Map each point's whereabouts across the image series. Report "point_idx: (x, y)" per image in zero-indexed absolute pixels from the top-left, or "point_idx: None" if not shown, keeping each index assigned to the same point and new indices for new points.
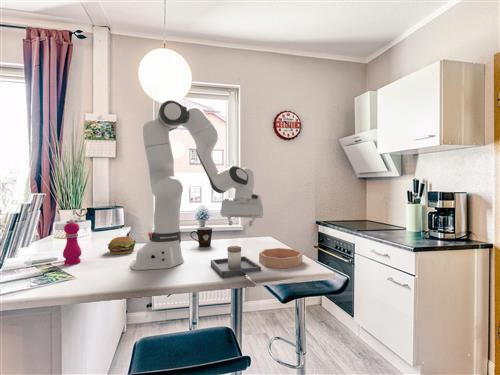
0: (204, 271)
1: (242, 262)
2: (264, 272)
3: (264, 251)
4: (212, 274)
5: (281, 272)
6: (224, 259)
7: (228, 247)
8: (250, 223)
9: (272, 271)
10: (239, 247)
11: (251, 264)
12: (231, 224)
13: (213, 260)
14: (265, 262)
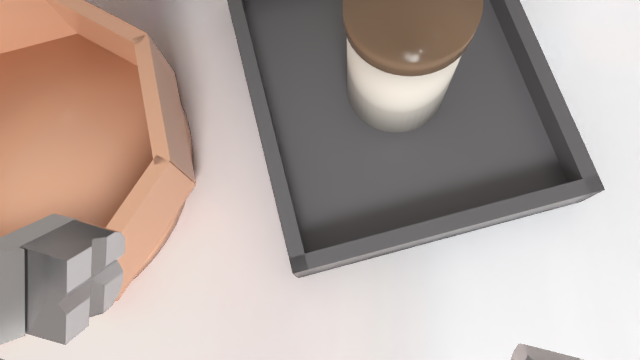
0: (603, 71)
1: (327, 188)
2: (207, 15)
3: None
4: (537, 9)
5: (108, 6)
6: (481, 206)
7: (472, 12)
8: (74, 224)
9: (154, 28)
10: (360, 3)
11: (268, 102)
12: (520, 355)
13: (576, 180)
14: (166, 66)
